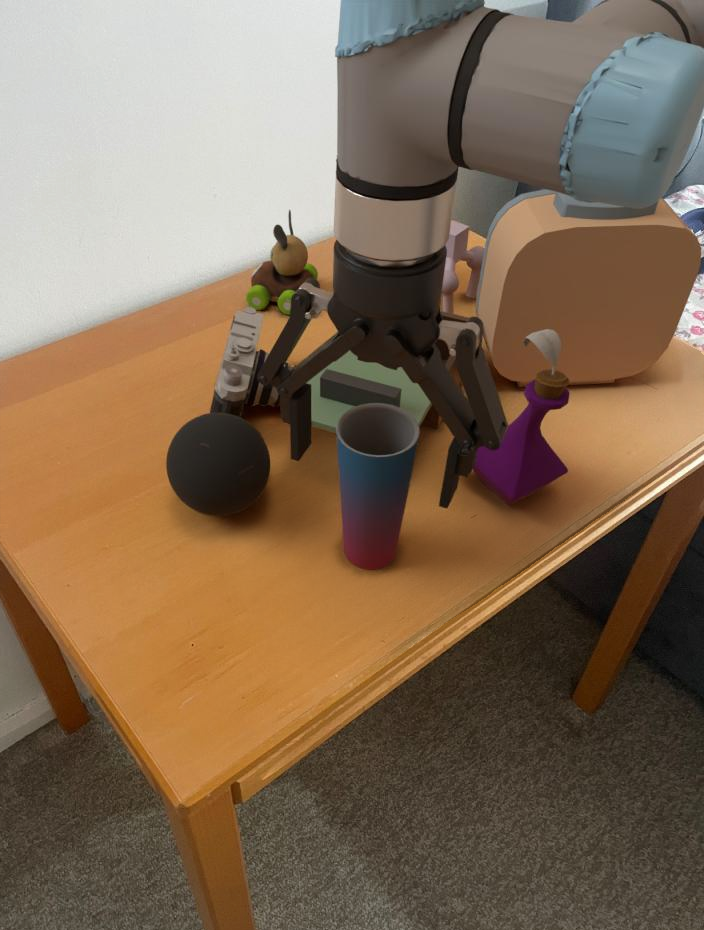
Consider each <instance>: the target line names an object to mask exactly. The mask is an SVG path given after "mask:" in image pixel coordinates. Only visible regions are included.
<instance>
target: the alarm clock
mask: <svg viewBox="0 0 704 930" xmlns="http://www.w3.org/2000/svg"><path fill="white" fill-rule="evenodd" d="M486 235H487V236H486V239H485V244H484V248H485V249H484V255H483V261H482V267H481V273H480V279H479V285H478V289H477V293H476V297H475V298H476V299H475V315H476V316H475V317H478V318H480V319H481V320H482V322H483V337H482V339H483V340H484V343H485V346H486V348H487V351H488V354H489V356H490V359H491V362H492V364H493V367H494V368H495V370H497V373H499V375H501V376H502V377H504V378H505V379H507V380H509V381H511V382H516V383H517V386H518V388H522V387H524V388H526V385H527V384H528V383H529V382H531V381H533V380H534V379H535V378H536V373H539V372H541V371H543V370H552V369H553V365H552V364H551V363H550V362H549V361H548V360H547V359H546V358H545V357H544V355H543V354H542V353H541V351H540V350H539V349H538V348H537V347H536V345H535V344H534V343H533V342H532V341H530V342H529V344H528V345H527V346H525V345H524V343H523V340H524V339H525V338H526V337H527V336H528V335H530V334H531V333H533V332H538V331H542V330H546V329H550V330H554V331H555V332H556V333H557V334H558V336H559V338H560V341H561V353H560V355H559V358H558V360H557V363H556V367H555V370H557V371H560V372H562V373H564V374H565V376H566V377H567V378H568V379H569V384H568V386H572V385H574V386H575V385H594V384H595V385H596V384H597V385H598V384H614V383H615V380H617V379H622V378H628V377H632V376H635V375H637V374H639V373H641V372H643V371H645V370H648V369H649V368H650V367H651V366H653V364H655V363H656V362H657V361H658V360H659V359H660V358H661V357H662V355H663V354H664V353H665V351H667V349H668V348H669V346H670V344H671V342H672V340H673V338H674V336H675V334H676V331H677V328H678V326H679V323H680V321H681V318H682V316H683V313H684V311H685V308H686V306H687V303H688V301H689V298H690V295H691V293H692V290H693V288H694V286H695V282H696V280H697V277H698V274H699V270H700V267H701V263H702V246H701V244H700V241H699V239H698V237H697V235H695V233H694V232H693V231H692V230H691V228H690V227H689V226H688V225H687V224H686V223H685V222H684V220H683V218H681V217H680V216H679V215H678V213H676V211H675V210H674V209H673V208H672V206H670V204H669V203H668V202H667V201H666V200H665V199H664V197H662V198H661V199H660V200H659V201H657V202H656V203H655V204H653V205H651V206H649V207H646V208H640V209H637V208H629V207H623V206H617V205H611V204H605V203H599V202H595V203H588V202H584V201H583V202H582V201H578V200H575V198H573V197H570V195H566V194H562V193H558V192H555V191H551V190H547V189H540V190H535V191H530V192H525V193H520V194H518V195H517V196H515V197H514V198H513V199H511V200H509V201H508V202H505V204H504V206H502V207H501V209H499V211H498V212H497V213H496V215H495V216H494V218H493V220H492V222H491V223H490V226H489V228H488V232H487V234H486Z"/></svg>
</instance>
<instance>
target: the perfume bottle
mask: <svg viewBox="0 0 704 930" xmlns="http://www.w3.org/2000/svg"><path fill="white" fill-rule="evenodd" d="M530 341H532V342H533V343H534V344H535V345H536V347H537V348H538V349H539V350H540V351H541V353H542V354H543V355H544V357H545V358H546V359H547V360H548V361H549V362H550V363H551V364H552V365H553V369H552V370H543V371H541V372H539V373H536V378H535V379H534V380H533V381H531V382H529V383H528V384H527V385H526V387H524V392H523V395H524V397H525V399H526V401H527V402H528V403H527V406H526V407H525V408H524V409H523V411H522V412H521V413H520V414H519V415H518V416H517V417H516V418H515V419H514V420H513V421H512V422H511V423H509V424H508V429H507V431H506V434H505V436H504V438H503V441H502V443H501V445H500V447H499V449H498V450H495V451H492V450H489V449H487V448H486V447H479V448H478V453H477V457H476V462H475V465H474V467H473V469H472V471H473V472H474V473H475V474H476V476H477V477H478V478H479V480H480V481H481V483H482V484H484V486H486V487H487V488H488V490H490V491H491V492H492V493H493V494H495V495H496V497H498V498H499V499H500V500H501V501H503V503H504V504H505V505H507V506H511V505H512V504H514V503H516V502H518V501H521V500H522V499H525V498H526V497H528V496H531V495H532V494H534V493H536V492H538V491H540V490H541V489H543V488H545V487H547V486H548V485H550V484H552V483H553V482H555V481H557V480H558V479H559V478H562V477H563V476H564V475H566V474H567V473H568V472H569V468H568V467H567V466H566V464H565V463H564V462H563V461H562V460H561V458H560V457H559V456H558V454H557V453H556V452H555V451H554V449H553V448H552V447H551V446H550V443H548V441H547V440H546V439H545V436H543V434H542V430H541V426H542V422H543V420H544V419H545V417H546V415H547V414H548V413H549V412H550V411H555V410H561V409H562V408H564V407H565V406H567V405H568V404H569V400H570V391H569V390H568V388H567V387H568V386H569V385H568V384H569V379H568V378H567V377H566V376H565V374H564V373H562V372H560V371H557V370H555V367H556V363H557V360H558V358H559V355H560V353H561V341H560V338H559V336H558V334H557V333H556V332H555V331H554V330H550V329H546V330H542V331H538V332H533V333H531V334H530V335H528V336H527V337H526V338H525V339H524V340H523V343H524V345H525V346H527V345H528V344H529V342H530Z"/></svg>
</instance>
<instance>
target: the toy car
mask: <svg viewBox="0 0 704 930" xmlns="http://www.w3.org/2000/svg"><path fill="white" fill-rule="evenodd" d="M287 215H288V216H287V217H288V228H289V234H286V232H285V230H284V229H283V227H282V226H281V224H279V223H278V224H275V225H274V227H273V230H272V234H273V237H274V238H275V240H276V242H275V244H274V246H272V247H271V250H270V253H269V254H270V255H269V256H270V257H269V258H270V260H266V261H263V262H261V263H259V264H258V265H257V266H256V267H255V268H254V270H253V272H252V274H251V280H250V282H251V283H250V285H251V287H250V288H249V290H248V291H247V293H246V296H245V299H246V303H247V305H248V306H250V307H253V308H254V309H256V311H262V310H264V309H265V308H267V306H268V305H269V304H270V302H273V303H277V307H278V309H279V310H280V312H281V313H283V314H284V315H287V316H290V307H291V298H292V295H293V294H294V293H295V292H296V291H297V290H298V289H299V288H300V287H301V285H302V284H303V283H304V282H305V281H306V280H307V279H308V278H314V279H316V280H317V281H318V277H319V275H318V274H319V272H318V269H317V268H316V267H315V266H314V265H313V264H312V263H309V262H308V260H309V252H308V248H307V245H306V244H305V243H304V241H303V240H302V239H301V238H299V237H298V236H296V235H295V234H294V229H293V225H292V211H291V209H289V210H288V214H287Z"/></svg>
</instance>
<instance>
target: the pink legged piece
mask: <svg viewBox="0 0 704 930" xmlns="http://www.w3.org/2000/svg"><path fill="white" fill-rule="evenodd" d="M469 233H470V225H467V224H464V223H461V222H459V221H456V220H454V219H451V226H450V233H449V239H448V241H447V242H446V244H445V246H446V249H447V256H446V264H445V271H444V278H443V286H442V293H441V295H442V312H447V313H451V314H454V293H455V292H456V291H457V290H458V289H459V285H460V279H459V276H458V275H457V273H456V272H455V270H456V264H457V263H458V262H460V261H462V262H466V266H467V267H468V268H469V269H471V270H470V274H469V279H468V283H467V288H466V292H465V296H466V297H467V298H470V299H474V298H477V292H478V286H479V279H480V273H481V267H482V261H483V255H484V249H485V247H484V246H481V245H478V246H477V245H476V246H473V247H471V248H470V249H469V250H468V243H469Z"/></svg>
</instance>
